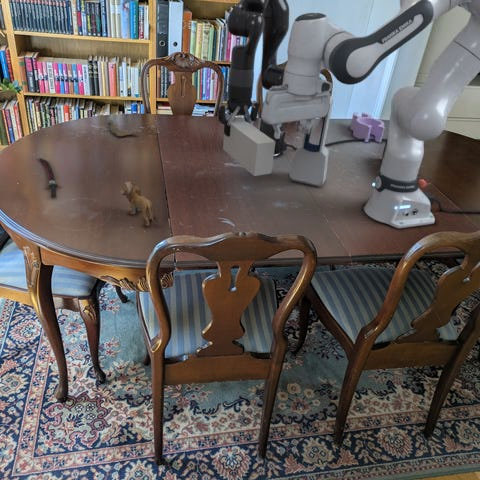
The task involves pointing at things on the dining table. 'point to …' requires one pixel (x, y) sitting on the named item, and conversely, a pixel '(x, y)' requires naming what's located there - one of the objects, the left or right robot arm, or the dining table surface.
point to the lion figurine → (137, 201)
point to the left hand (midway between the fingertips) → (236, 134)
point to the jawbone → (119, 132)
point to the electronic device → (312, 157)
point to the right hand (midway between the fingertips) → (291, 135)
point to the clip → (367, 127)
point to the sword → (52, 181)
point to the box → (250, 147)
